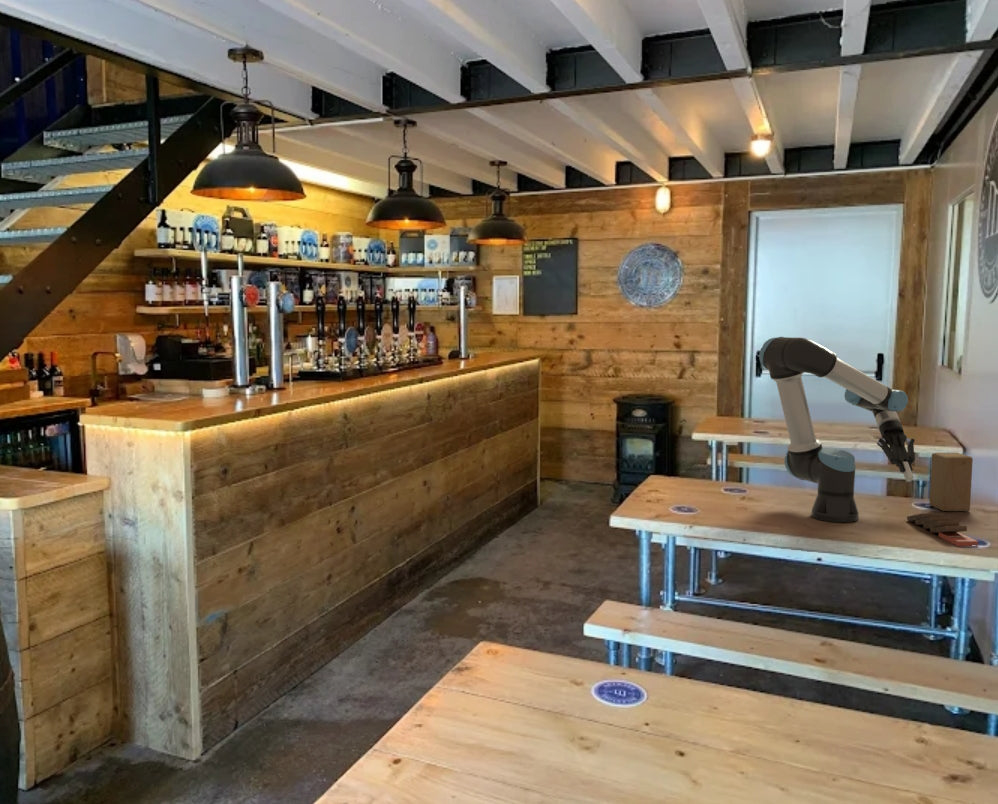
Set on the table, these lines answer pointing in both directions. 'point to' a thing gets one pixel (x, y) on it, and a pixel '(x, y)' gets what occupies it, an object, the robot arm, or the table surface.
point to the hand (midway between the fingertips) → (909, 479)
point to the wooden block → (951, 481)
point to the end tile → (958, 538)
